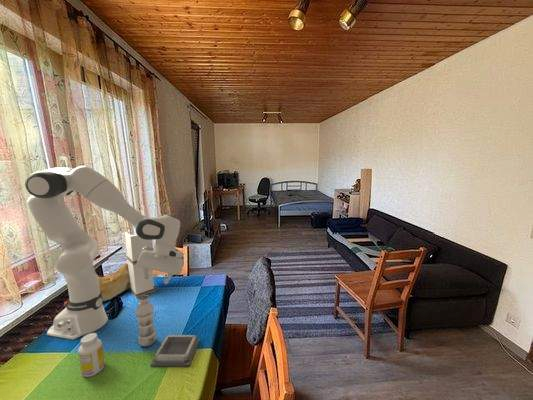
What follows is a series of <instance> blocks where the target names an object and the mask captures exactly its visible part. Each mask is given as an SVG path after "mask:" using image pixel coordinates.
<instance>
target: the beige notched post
mask: <svg viewBox="0 0 533 400" xmlns="http://www.w3.org/2000/svg"><path fill="white" fill-rule="evenodd" d="M124 239H125V248H126V257H127V264H128V269H129V277H130V288H129V289H130V292H131V293H132V294H133V296H134V297H135V298H136V299H139V298H140V297H141V296H145V295H146V294H147V295H149V293H150V294H151V293H152V294H153V293H155V292H157V287H156V286H155V283H154V270H151V269H149V270H148V271H147V272H148V275H149V278H148V279H144V272H143V269H144V268H141V267H138V266H137V261H138V259H139V256H140V254H141V250H142V249H143V248H144V247H149V248H154V247H153V246H154V245H153V240H144V239H141V238H140V237H139V236H138V235H137V234H130V233H128V231H125V232H124ZM144 249H145V248H144ZM148 250H149V249H148Z"/></svg>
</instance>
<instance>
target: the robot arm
mask: <svg viewBox="0 0 533 400" xmlns="http://www.w3.org/2000/svg"><path fill="white" fill-rule="evenodd" d="M24 186H25V189H26V191H27V192H28V193H29V194H30V196H29V197H28V199H27V206H28V207H29V210H30V212H31V214H32V216H33V218H34V220H35V221H36V223H37V224H38V226H39V227H40V229H41V230H42V232H44V235H45V236H46V238H47V239H48V240H49V241H51V242H54V243H56V244H57V245H59V246H60V248H62V249H63V250H64V251H63V252H62V253H60V255H59V257H58V259H57V260H56V263H55V265H56V270H57V271H58V272H59V273H60V274H61V275H63V278H64V280H65V282H66V285H67V291H68V297H69V298H68V299H67V300H66V301H64V302H63V303H64V304H63V305H64V306H65V305H66V307H65V308H64V309H62V310H61V311H60V312H59V313H58V314H57V315H56V316H55V317H54V319H53V325H51V326H50V327H49V329H48V330H47V332H46V336H51V337H56V338H61V339H62V338H63V339H67V340H76V339H78V338H79V337H82V336H85V335H87V334H90V333H94V332H95V331H97V330H99V329H100V328H103V326H105V325H106V323H107V322H108V320H109V317H108V315H107V314H106V311H105V308H104V304H103V302H102V292H101V291H100V285H99V277H100V276H99V275H98V274H97V273H96V270H95V268H94V267H95V266H94V261H95V259H96V257H98V255H99V252H100V244H99V242H98V240H96V239H95V238H93V237H91V236H90V235H89V234H88V233H87V232H86V231H85V230H84V229H83V227H81V225H80V224H79V223H78V221H77V220H76V218H75V216H74V215H73V213H72V212H71V210H70V208H69V207H68V206H67V204H66V202H65V197H66V196H70V195H71V194H72V193H73V192H77V193H79V195H81V196H82V197H84V198H85V199H86V200H88V201H89V202H91V203H92V204H93V205H95V206H97V207H98V208H101V209H103V210H106V211H110V212H111V213H114V214H117V215H118V216H120V217H121V218H123V219H124V220H125V221H126V222H128V223H129V224H130V225H132V226H133V227H134V229H135V233H136V235H138V236H139V237H140V238H141V239H144V240H152V241H153V240H155V242H154V245H153V246H154V247H153V248H149V247H144V248H145V249H144V248H143V249H142V250H141V254H140V256H139V259H138V261H137V266H138V267H141V268H144V269H143V272H144V279H148V278H149V275H148V272H147V271H148V270H149V269H151V270H153V271H157V272H161V273H164V274H165V273H166V274H167V278H164V280H163V284H164V285H165V284H166V285H167V284H169V281H170V279H171V278H173V276H174V275H175V276H179V275H181V273H182V271H183V268H184V258H183V257H184V256H185V253H184V252H183V251H182V250H179V249H177V248H176V244H177V243H176V242H177V239H178V237H179V234H180V228H181V221H180V219H179V218H177V217H176V216H173V215H170V214H168V213H167V214H163V215H161V216H157V217H147V216H145V215H143V214H142V213H141V212H139V211H138V210H137V209H136V208H135V207H133V206H132V205H131V204H130V203H129V202H128V201H127V200H126V198H125V197H124V195H123V194H122V193H121V191H120V190H119V189H118V187H117V186H116V185H115V184H114V183H112V182H111V180H109V179H108V178H106V176H104V175H103V174H101V173H99V172H98V171H96V170H95V169H93V168H91V167H89V166H87V165H80V166H77V167H75V168H72V167H67V166H62V167H52V168H51V167H50V168H47V169H44V170H37V171H35V172H32V173H31V174H29V175H28V176H27V177H26V179H25V182H24ZM148 249H149V250H148Z"/></svg>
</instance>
